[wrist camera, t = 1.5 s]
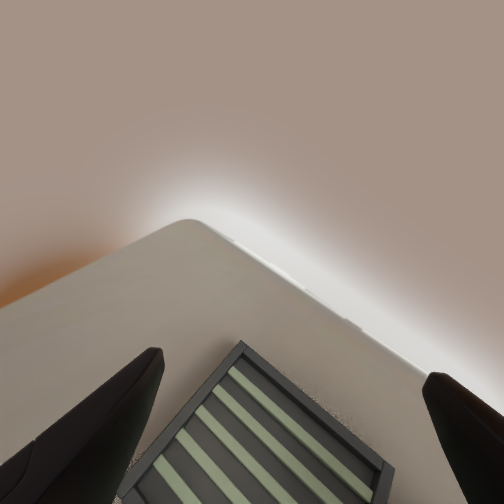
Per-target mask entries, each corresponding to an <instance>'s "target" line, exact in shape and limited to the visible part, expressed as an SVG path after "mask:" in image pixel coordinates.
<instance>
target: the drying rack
mask: <svg viewBox="0 0 504 504" xmlns="http://www.w3.org/2000/svg"><path fill="white" fill-rule="evenodd" d="M394 472H395V469H394V468H393V467H392V466H391V465H390V464H389V463H387V462H386V461H385V460H384V459H383V458H381V457H380V456H379V455H378V454H377V453H375V452H374V451H373V450H372V449H371V448H370V447H368V446H367V445H366V444H365V443H364V442H362V441H361V440H360V439H359V438H358V437H356V436H355V435H354V434H353V433H352V432H350V431H349V430H348V429H347V428H346V427H344V426H343V425H342V424H341V423H340V422H339V421H337V420H336V419H335V418H334V417H333V416H331V415H330V414H329V413H328V412H327V411H325V410H324V409H323V408H322V407H321V406H319V405H318V404H317V403H316V402H315V401H313V400H312V399H311V398H310V397H309V396H307V395H306V394H305V393H304V392H303V391H302V390H300V389H299V388H298V387H297V386H296V385H294V384H293V383H292V382H291V381H290V380H288V379H287V378H286V377H285V376H284V375H282V374H281V373H280V372H279V371H278V370H276V369H275V368H274V367H273V366H272V365H271V364H269V363H268V362H267V361H266V360H265V359H263V358H262V357H261V356H260V355H259V354H257V353H256V352H255V351H254V350H253V349H251V348H250V347H249V346H247V344H245V343H244V342H243V341H242V340H241V341H240V342H239V343H238V344H237V345H236V346H235V347H234V349H233V350H232V351H231V352H230V353H229V354H228V356H227V357H226V358H225V359H224V360H223V361H222V363H221V364H220V365H219V366H218V367H217V368H216V370H215V371H214V372H213V373H212V374H211V375H210V377H209V378H208V379H207V380H206V381H205V382H204V384H203V385H202V386H201V387H200V388H199V389H198V391H197V392H196V393H195V394H194V395H193V396H192V398H191V399H190V400H189V401H188V402H187V403H186V405H185V406H184V407H183V408H182V409H181V410H180V412H179V413H178V414H177V415H176V416H175V417H174V419H173V420H172V421H171V422H170V423H169V424H168V426H167V427H166V428H165V429H164V430H163V431H162V433H161V434H160V435H159V436H158V437H157V438H156V440H155V441H154V442H153V443H152V444H151V445H150V447H149V448H148V449H147V450H146V451H145V452H144V454H143V455H142V456H141V457H140V458H139V459H138V461H137V462H136V463H135V464H134V465H133V466H132V468H131V469H130V470H129V471H128V472H127V473H126V475H125V476H124V477H123V480H122V482H121V484H120V487H119V489H118V491H117V496H118V497H119V498H120V500H122V503H123V504H387V502H388V497H389V493H390V489H391V484H392V480H393V476H394Z"/></svg>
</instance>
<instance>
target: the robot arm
mask: <svg viewBox="0 0 504 504" xmlns="http://www.w3.org/2000/svg"><path fill="white" fill-rule="evenodd" d="M164 368H165V363H164V357H163V351H162V349H161V348H156V347H150V348H148V349H146V350H145V351H144V352H143V353H141V354H140V355H139V356H138V357H136V358H135V359H134V360H133V361H131V362H130V363H129V364H128V365H126V366H125V367H124V368H123V369H121V370H120V371H119V372H118V373H116V374H115V375H114V376H113V377H111V378H110V379H109V380H108V381H106V382H105V383H104V384H103V385H101V386H100V387H99V388H98V389H96V390H95V391H94V392H93V393H91V394H90V395H89V396H88V397H86V398H85V399H84V400H83V401H81V402H80V403H79V404H78V405H76V406H75V407H74V408H73V409H71V410H70V411H69V412H68V413H66V414H65V415H64V416H63V417H61V418H60V419H59V420H58V421H56V422H55V423H54V424H53V425H51V426H50V427H49V428H48V429H46V430H45V431H44V432H43V433H41V434H40V435H39V436H38V437H36V439H35V441H34V440H33V441H31V442H30V443H29V444H27V445H26V446H25V447H24V448H22V449H21V450H20V451H19V452H17V453H16V454H15V455H14V456H12V457H11V458H10V459H9V460H7V461H6V462H5V463H3V464H2V465H1V466H0V504H112V503H113V501H114V498H115V496H116V494H117V491H118V489H119V487H120V484H121V482H122V480H123V477H124V475H125V473H126V470H127V468H128V466H129V463H130V461H131V459H132V456H133V454H134V452H135V449H136V447H137V445H138V442H139V440H140V438H141V436H142V433H143V431H144V429H145V426H146V424H147V421H148V419H149V416H150V413H151V410H152V407H153V404H154V401H155V397H156V394H157V391H158V388H159V385H160V382H161V379H162V376H163V373H164ZM422 394H423V398H424V400H425V403H426V406H427V409H428V411H429V414H430V417H431V419H432V422H433V425H434V428H435V430H436V433H437V436H438V438H439V441H440V443H441V446H442V448H443V451H444V453H445V455H446V458H447V460H448V462H449V464H450V466H451V468H452V470H453V473H454V475H455V477H456V479H457V481H458V483H459V485H460V487H461V490H462V492H463V494H464V496H465V498H466V500H467V502H468V504H504V416H502V415H501V414H500V413H498V412H497V411H496V410H494V409H493V408H491V407H490V406H489V405H488V404H486V403H485V402H484V401H482V400H481V399H480V398H478V397H477V396H476V395H474V394H473V393H472V392H470V391H469V390H468V389H466V388H465V387H463V386H462V385H461V384H460V383H458V382H457V381H456V380H454V379H453V378H452V377H450V376H449V375H447V374H445V373H440V372H431V373H430V374H429V376H428V378H427V380H426V382H425V384H424V385H423V388H422Z"/></svg>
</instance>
